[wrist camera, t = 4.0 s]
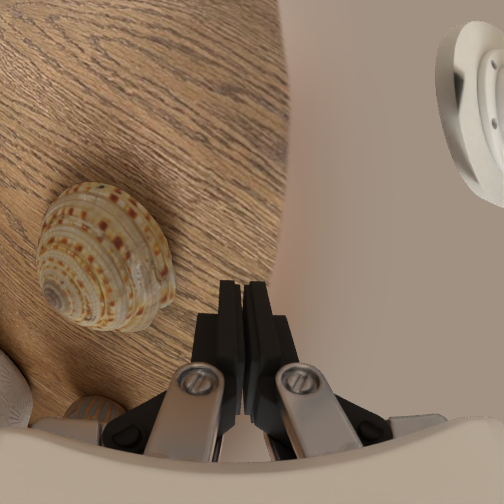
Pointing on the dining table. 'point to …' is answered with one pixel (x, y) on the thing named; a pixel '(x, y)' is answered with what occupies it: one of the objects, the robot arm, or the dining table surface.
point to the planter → (13, 395)
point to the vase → (94, 409)
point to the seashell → (104, 259)
